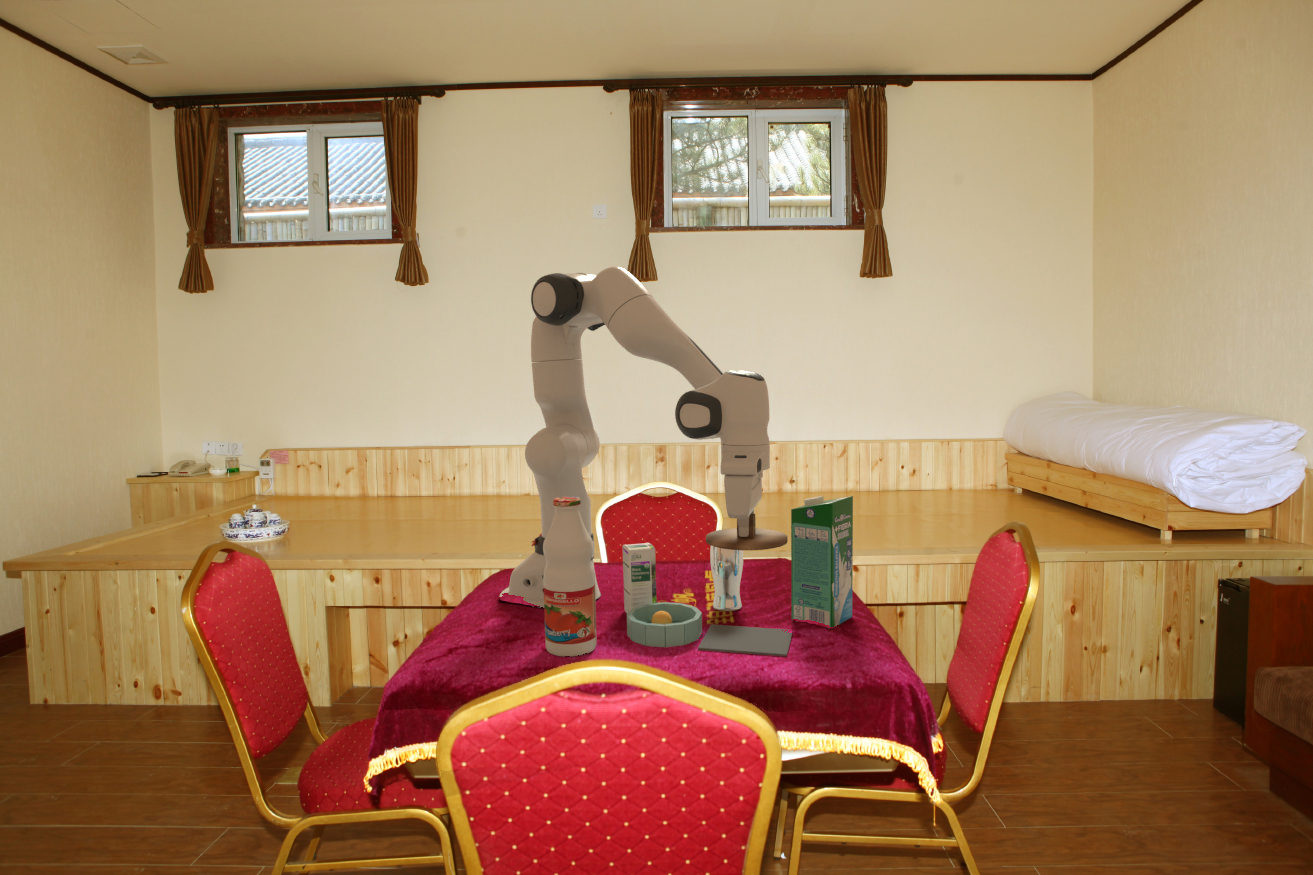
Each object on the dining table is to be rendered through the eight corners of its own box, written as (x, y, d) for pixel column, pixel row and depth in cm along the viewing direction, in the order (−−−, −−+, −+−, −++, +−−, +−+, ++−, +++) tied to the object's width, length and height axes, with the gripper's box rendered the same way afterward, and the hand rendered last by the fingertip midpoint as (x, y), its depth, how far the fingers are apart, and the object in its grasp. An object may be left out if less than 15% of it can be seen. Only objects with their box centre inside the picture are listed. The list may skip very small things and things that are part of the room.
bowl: (619, 643, 148) (618, 622, 147) (639, 619, 161) (639, 600, 161) (692, 649, 144) (692, 627, 144) (707, 624, 158) (707, 604, 157)
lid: (698, 548, 141) (698, 522, 140) (713, 530, 155) (713, 506, 155) (783, 551, 137) (783, 524, 137) (791, 533, 151) (790, 508, 151)
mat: (698, 649, 144) (698, 647, 144) (711, 626, 156) (711, 624, 156) (786, 656, 140) (786, 654, 140) (793, 631, 152) (793, 629, 152)
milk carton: (812, 608, 166) (812, 491, 164) (852, 617, 160) (853, 495, 158) (791, 620, 159) (790, 497, 157) (832, 629, 153) (832, 502, 151)
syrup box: (630, 619, 162) (628, 549, 160) (623, 610, 167) (622, 543, 166) (657, 616, 163) (656, 547, 162) (649, 607, 169) (648, 541, 167)
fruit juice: (605, 642, 148) (601, 495, 146) (582, 660, 140) (578, 504, 137) (560, 637, 152) (556, 493, 149) (536, 654, 143) (530, 501, 140)
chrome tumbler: (742, 612, 164) (741, 541, 163) (708, 611, 166) (707, 540, 164) (745, 602, 171) (744, 534, 170) (713, 601, 173) (712, 533, 171)
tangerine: (652, 637, 151) (646, 619, 150) (657, 625, 155) (651, 608, 154) (672, 634, 150) (666, 616, 149) (676, 623, 154) (671, 605, 153)
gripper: (737, 452, 156) (737, 521, 157) (718, 466, 136) (719, 545, 137) (769, 452, 154) (769, 522, 155) (755, 466, 134) (755, 546, 136)
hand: (745, 533), depth 146 cm, fingers closed on lid, 3 cm apart
